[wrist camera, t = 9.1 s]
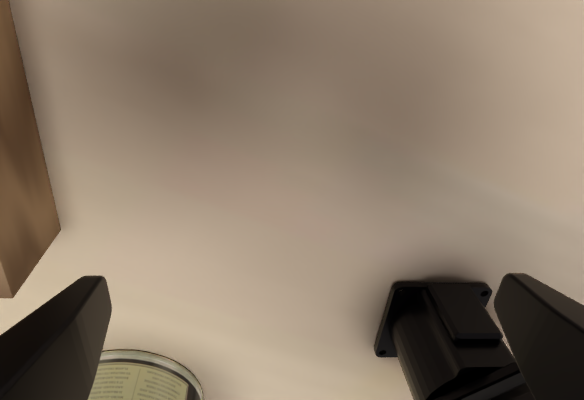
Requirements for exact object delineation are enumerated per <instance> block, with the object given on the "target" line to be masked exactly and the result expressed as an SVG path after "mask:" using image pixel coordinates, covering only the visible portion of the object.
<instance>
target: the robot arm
mask: <svg viewBox="0 0 584 400" xmlns="http://www.w3.org/2000/svg"><path fill="white" fill-rule="evenodd" d="M400 290H401V291H400ZM491 294H492V290H491V288H490V287H489V286H488V285H487V284H485V283H425V282H399V283H396V284H395V285H394V286H393V287H392V290H391V293H390V296H389V300H388V303H387V306H386V310H385V313H384V316H383V320H382V323H381V326H380V330H379V333H378V336H377V340H376V343H375V347H374V351H375V354H376V356H378V357H398V359H399V362H400V364H401V367H402V370H403V372H404V375H405V378H406V380H407V383H408V386H409V388H410V391H411V394H412V396H413V399H414V400H584V305H582V304H580V303H578V302H576V301H575V300H573V299H571V298H569V297H567V296H565V295H564V294H562V293H560V292H558V291H556V290H554V289H553V288H551V287H549V286H547V285H545V284H543V283H542V282H540V281H538V280H536V279H534V278H533V277H531V276H529V275H527V274H524V273H508V274H506V275H505V276H504V277H503V279H502V281H501V284H500V286H499V289H498V291H497V294H496V296H495V299H494V308H495V311H496V314H497V316H498V319H499V321H500V324H501V326H502V329H503V331H504V333H505V336H506V338H507V341H508V343H509V346H510V348H511V351H512V353H513V355H512V354H511V352H510V351H509V349H508V348H507V346H506V345H505V343H504V342H503V340H502V338H503V334H502V333H501V331H500V330H499V328H498V327H497V325H496V324H495V322H494V321H493V320H492V318H491V317H490V315H489V314H488V312H487V311H486V309H485V307H486V305H487V303H488V301H489V298H490V296H491ZM111 311H112V305H111V300H110V295H109V291H108V286H107V282H106V279H105V277H103V276H83V277H81V278H80V279H78V280H77V281H75V282H74V283H73V284H71V285H70V286H68V287H67V288H66V289H64V290H63V291H61V292H60V293H59V294H57V295H56V296H54V297H53V298H52V299H50V300H49V301H47V302H46V303H45V304H43V305H42V306H41V307H39V308H38V309H36V310H35V311H34V312H32V313H31V314H29V315H28V316H27V317H25V318H24V319H22V320H21V321H20V322H18V323H17V324H15V325H14V326H13V327H11V328H10V329H9V330H7V331H6V332H4V333H3V334H2V335H0V400H88V398H89V395H90V392H91V389H92V386H93V383H94V380H95V376H96V373H97V369H98V365H99V361H100V357H101V353H102V349H103V345H104V341H105V337H106V333H107V329H108V325H109V321H110V317H111ZM513 356H514V357H513Z"/></svg>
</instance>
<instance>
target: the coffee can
mask: <svg viewBox="0 0 584 400" xmlns="http://www.w3.org/2000/svg"><path fill="white" fill-rule="evenodd" d="M88 400H203V393H202V389H201V386H200V384H199V382H198V381H197V379H196V378H195V377H194V376H193V374H192V373H191V372H190V371H188V370H187V369H186V368H185V367H183V366H181V365H180V364H178V363H177V362H175V361H173V360H171V359H168V358H165V357H163V356H159V355H156V354H152V353H148V352H142V351H136V350H128V351H125V350H113V351H105V352H102V353H101V357H100V361H99V365H98V369H97V373H96V376H95V380H94V383H93V386H92V389H91V392H90V395H89V398H88Z"/></svg>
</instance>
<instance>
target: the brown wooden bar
mask: <svg viewBox="0 0 584 400" xmlns="http://www.w3.org/2000/svg"><path fill="white" fill-rule="evenodd" d="M60 230H61V229H60V224H59V220H58V216H57V211H56V207H55V202H54V198H53V194H52V189H51V185H50V181H49V176H48V172H47V167H46V163H45V159H44V154H43V150H42V146H41V141H40V137H39V132H38V128H37V124H36V119H35V115H34V111H33V106H32V102H31V97H30V93H29V89H28V84H27V80H26V76H25V71H24V67H23V62H22V58H21V54H20V49H19V45H18V41H17V36H16V32H15V27H14V23H13V19H12V14H11V10H10V6H9V1H8V0H0V298H13V297H14V296H15V294H16V293H17V292H18V290H19V289H20V287H21V286H22V284H23V283H24V282H25V280H26V279H27V277H28V276H29V275H30V273H31V272H32V270H33V269H34V267H35V266H36V265H37V263H38V262H39V260H40V259H41V257H42V256H43V255H44V253H45V252H46V250H47V249H48V247H49V246H50V245H51V243H52V242H53V240H54V239H55V237H56V236H57V235H58V233H59V232H60Z"/></svg>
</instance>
